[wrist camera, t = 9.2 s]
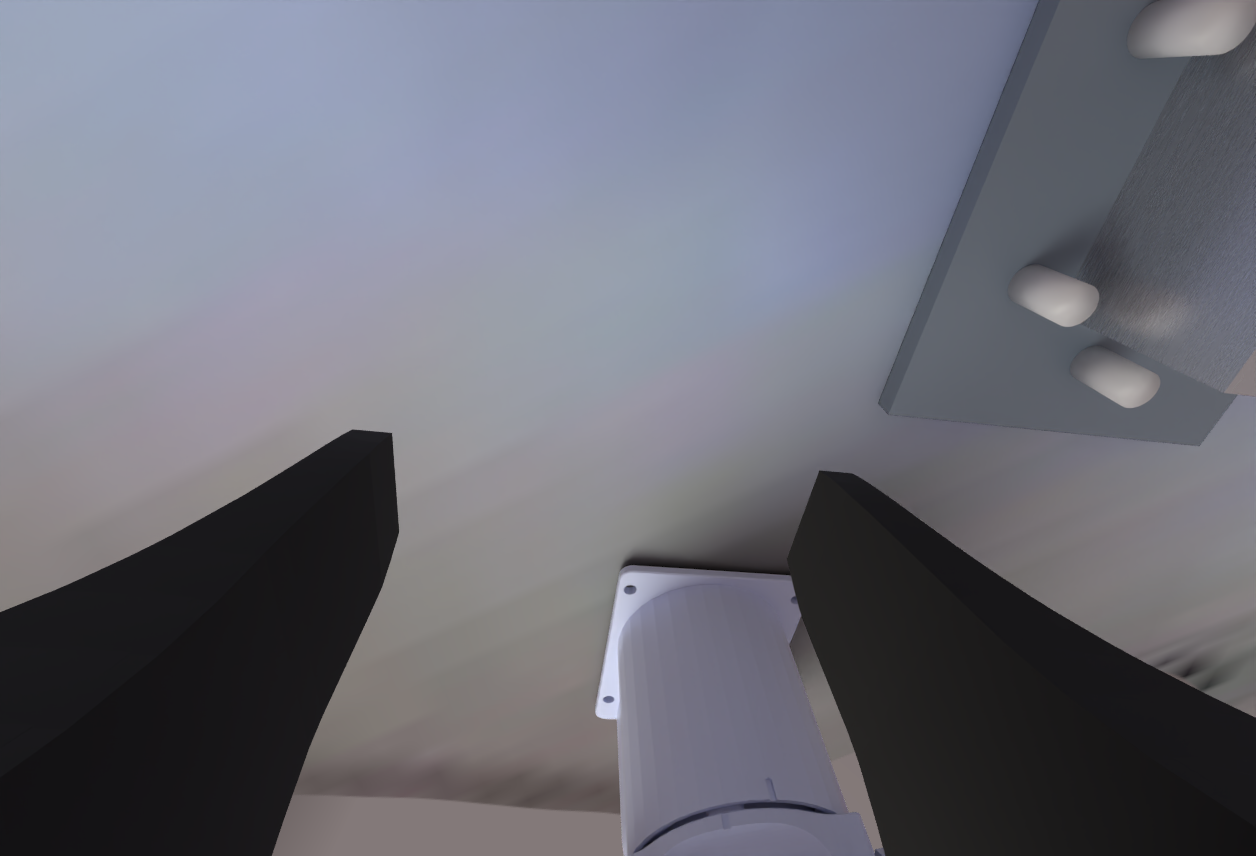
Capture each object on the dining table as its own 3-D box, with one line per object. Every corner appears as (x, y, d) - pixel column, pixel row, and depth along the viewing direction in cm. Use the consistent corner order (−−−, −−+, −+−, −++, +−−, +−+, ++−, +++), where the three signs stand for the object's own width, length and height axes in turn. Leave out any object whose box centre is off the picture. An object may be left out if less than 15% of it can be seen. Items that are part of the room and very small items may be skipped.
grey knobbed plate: (1180, 434, 22) (1253, 478, 19) (878, 403, 20) (917, 446, 18) (1590, -141, 14) (1804, -191, 11) (1143, -260, 12) (1277, -344, 10)
